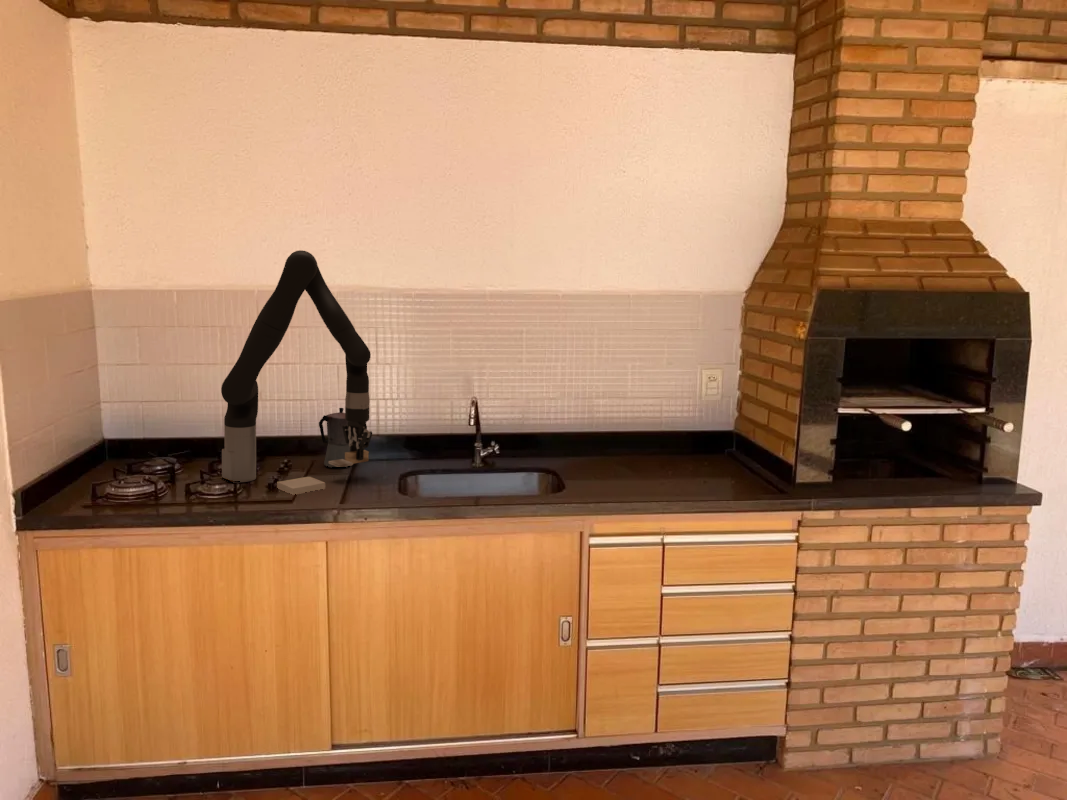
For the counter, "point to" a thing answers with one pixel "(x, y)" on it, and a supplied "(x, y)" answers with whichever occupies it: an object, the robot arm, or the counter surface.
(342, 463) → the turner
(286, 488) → the tile
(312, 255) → the robot arm
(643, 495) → the counter surface
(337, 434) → the moka pot
